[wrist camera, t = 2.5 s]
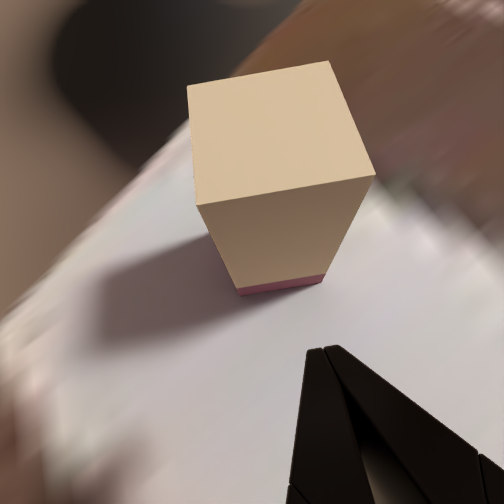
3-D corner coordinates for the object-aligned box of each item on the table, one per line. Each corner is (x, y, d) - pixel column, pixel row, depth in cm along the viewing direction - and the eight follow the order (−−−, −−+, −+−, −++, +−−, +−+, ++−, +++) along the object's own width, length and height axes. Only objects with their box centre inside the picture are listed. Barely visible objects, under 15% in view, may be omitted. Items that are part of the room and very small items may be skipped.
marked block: (321, 282, 20) (375, 174, 9) (240, 296, 20) (196, 205, 9) (303, 212, 22) (328, 60, 11) (230, 224, 23) (186, 86, 12)
